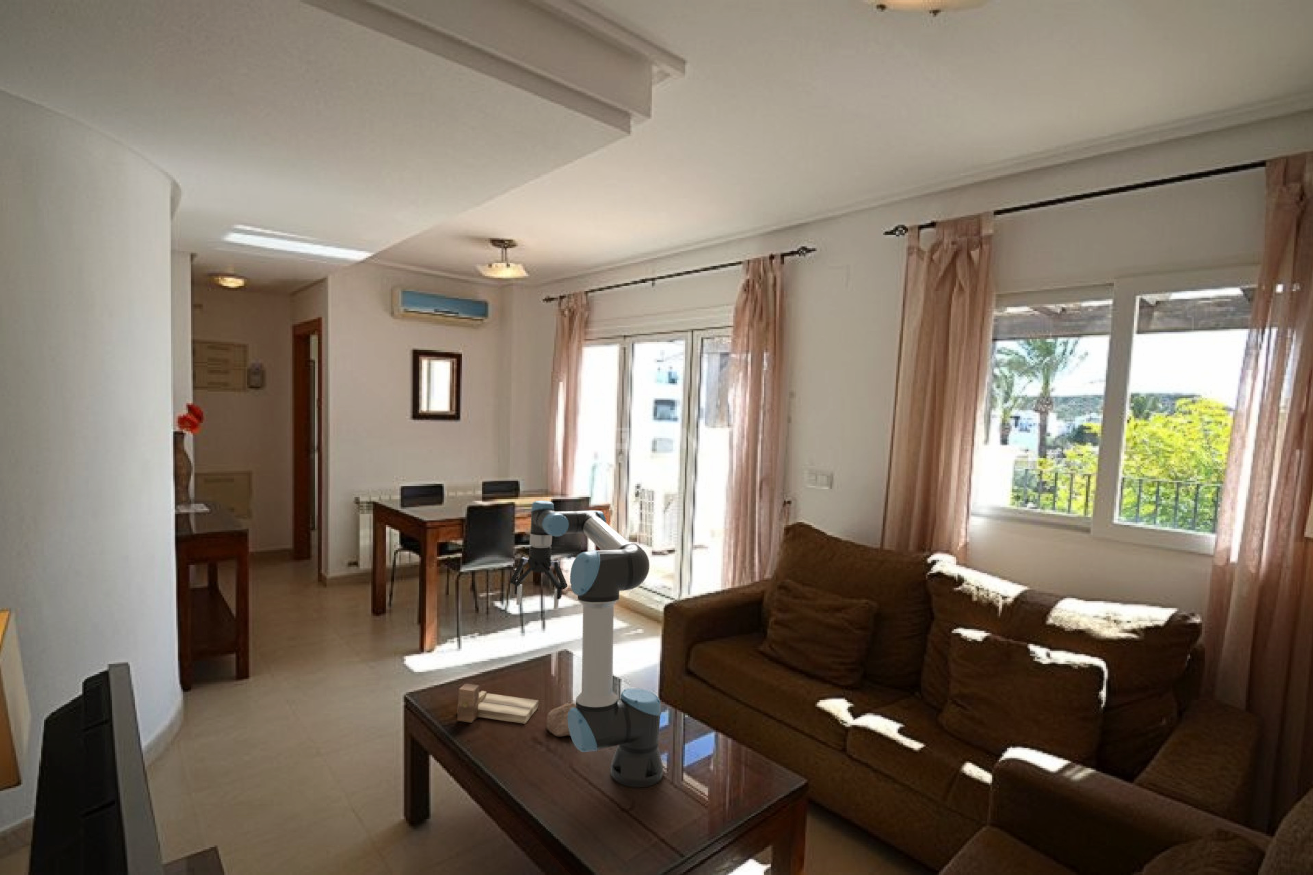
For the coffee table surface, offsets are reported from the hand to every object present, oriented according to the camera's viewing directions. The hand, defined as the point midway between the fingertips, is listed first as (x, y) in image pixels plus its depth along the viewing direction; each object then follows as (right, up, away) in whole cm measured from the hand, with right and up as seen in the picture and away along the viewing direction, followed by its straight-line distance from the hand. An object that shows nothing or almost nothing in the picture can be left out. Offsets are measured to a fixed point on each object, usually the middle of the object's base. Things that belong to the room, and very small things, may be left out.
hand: (537, 605), depth 220 cm
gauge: (-20, -34, -8) cm, 40 cm away
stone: (+12, -36, -16) cm, 42 cm away
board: (-12, -34, -5) cm, 37 cm away
